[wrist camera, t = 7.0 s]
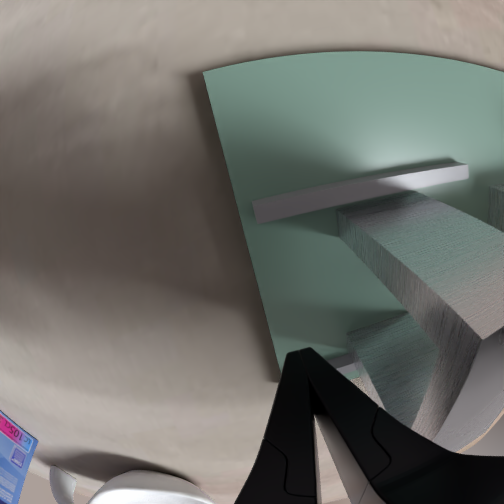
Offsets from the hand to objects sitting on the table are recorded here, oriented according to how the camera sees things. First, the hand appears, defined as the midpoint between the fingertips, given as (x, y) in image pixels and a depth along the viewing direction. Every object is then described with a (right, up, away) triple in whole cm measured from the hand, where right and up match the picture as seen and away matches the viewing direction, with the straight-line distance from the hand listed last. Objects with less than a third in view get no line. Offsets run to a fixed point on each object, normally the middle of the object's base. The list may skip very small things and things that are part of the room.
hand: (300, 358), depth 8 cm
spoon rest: (-17, -22, +13) cm, 31 cm away
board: (+9, +5, +3) cm, 11 cm away
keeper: (+4, +2, +2) cm, 5 cm away
